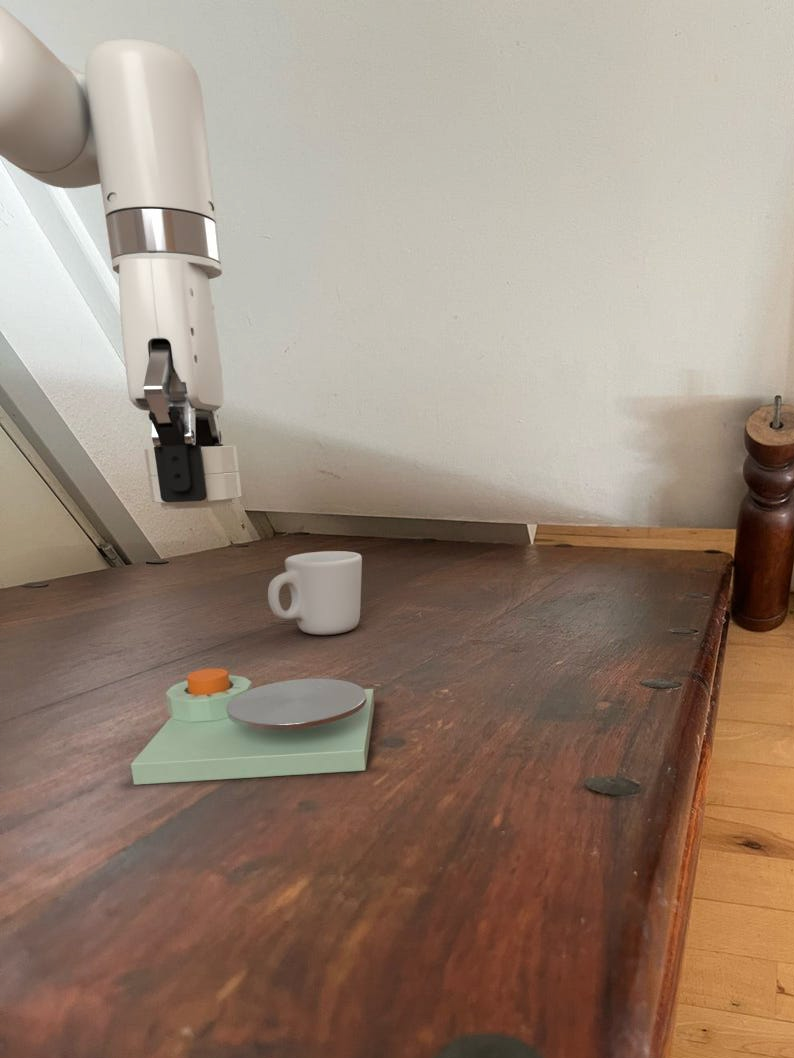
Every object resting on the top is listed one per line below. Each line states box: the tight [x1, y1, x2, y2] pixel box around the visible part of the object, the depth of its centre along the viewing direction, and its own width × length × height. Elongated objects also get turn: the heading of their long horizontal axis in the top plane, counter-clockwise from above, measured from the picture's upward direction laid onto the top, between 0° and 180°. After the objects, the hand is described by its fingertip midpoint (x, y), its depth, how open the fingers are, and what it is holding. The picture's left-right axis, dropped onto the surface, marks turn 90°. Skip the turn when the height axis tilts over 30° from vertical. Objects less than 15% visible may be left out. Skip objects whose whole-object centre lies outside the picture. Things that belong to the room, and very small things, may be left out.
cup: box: [267, 550, 363, 636], centre depth 81 cm, size 11×8×8 cm
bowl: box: [144, 445, 243, 510], centre depth 61 cm, size 7×7×4 cm
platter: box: [227, 678, 366, 730], centre depth 51 cm, size 9×9×1 cm
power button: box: [186, 668, 230, 695], centre depth 55 cm, size 3×3×1 cm
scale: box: [130, 674, 375, 786], centre depth 53 cm, size 14×12×3 cm
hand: (197, 495), depth 61 cm, fingers closed on bowl, 6 cm apart
